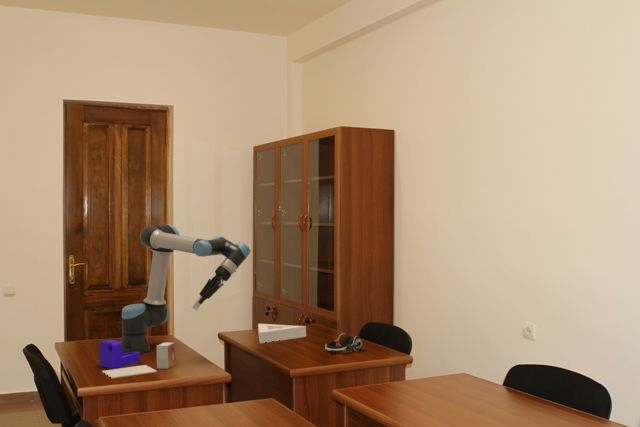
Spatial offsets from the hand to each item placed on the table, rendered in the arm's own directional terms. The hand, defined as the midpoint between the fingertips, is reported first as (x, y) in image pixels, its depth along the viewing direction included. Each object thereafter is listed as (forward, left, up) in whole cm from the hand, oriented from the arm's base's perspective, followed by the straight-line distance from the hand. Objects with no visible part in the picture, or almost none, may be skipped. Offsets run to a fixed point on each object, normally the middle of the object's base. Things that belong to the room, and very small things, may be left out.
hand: (193, 308), depth 338 cm
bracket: (-19, -28, -26) cm, 42 cm away
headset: (+19, +71, -26) cm, 78 cm away
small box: (0, -14, -26) cm, 29 cm away
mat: (0, -31, -25) cm, 40 cm away
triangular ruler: (-32, +65, -26) cm, 77 cm away
